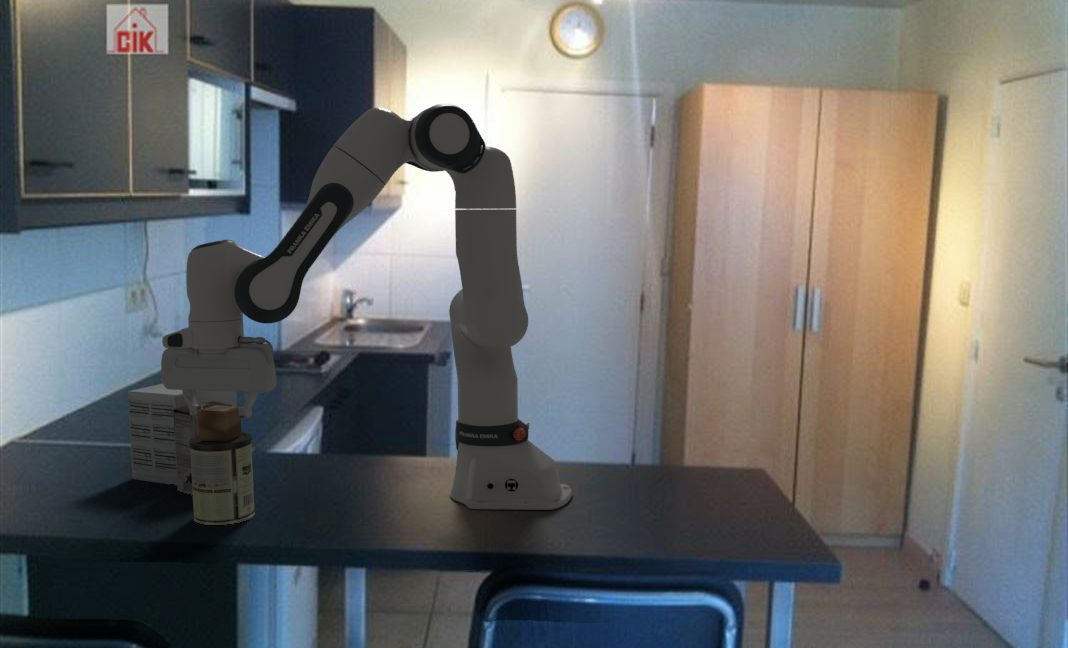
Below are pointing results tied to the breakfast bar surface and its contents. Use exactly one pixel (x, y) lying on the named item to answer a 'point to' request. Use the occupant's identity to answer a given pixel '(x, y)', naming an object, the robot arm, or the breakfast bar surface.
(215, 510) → the coffee can
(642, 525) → the breakfast bar surface
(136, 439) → the supplement box
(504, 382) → the robot arm
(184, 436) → the coffee box
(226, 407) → the walnut cube
